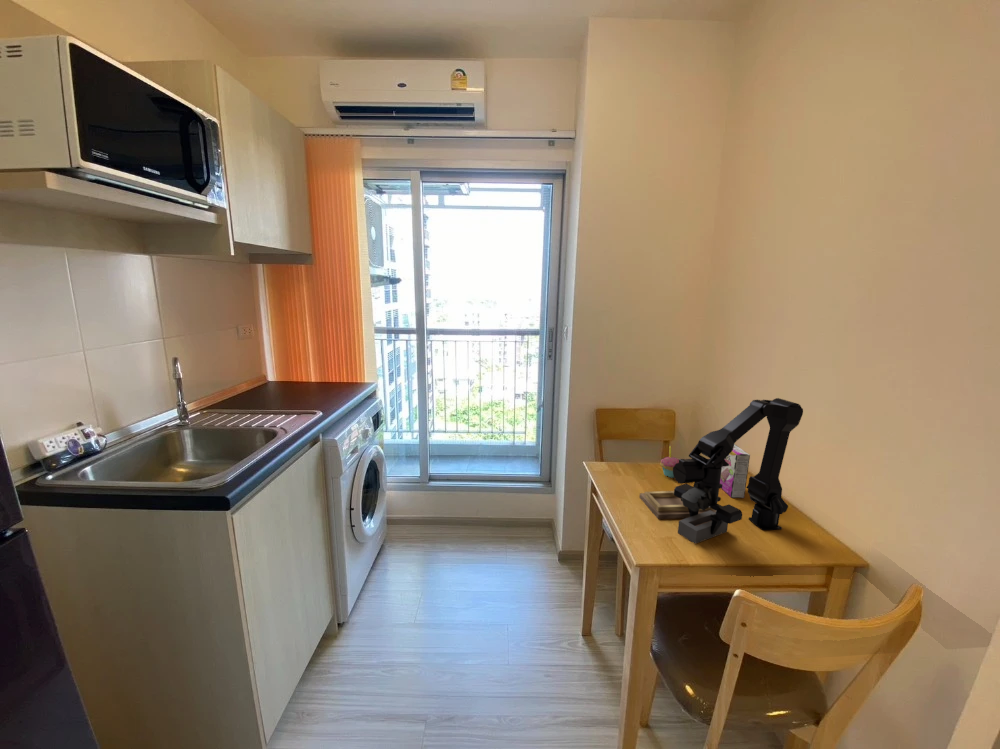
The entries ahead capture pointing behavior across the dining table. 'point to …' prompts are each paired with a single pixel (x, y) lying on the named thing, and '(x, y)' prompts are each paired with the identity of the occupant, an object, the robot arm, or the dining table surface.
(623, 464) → the dining table surface
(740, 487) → the candy bar box
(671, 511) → the walnut board
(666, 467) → the cupcake
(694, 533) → the dark gray frame
